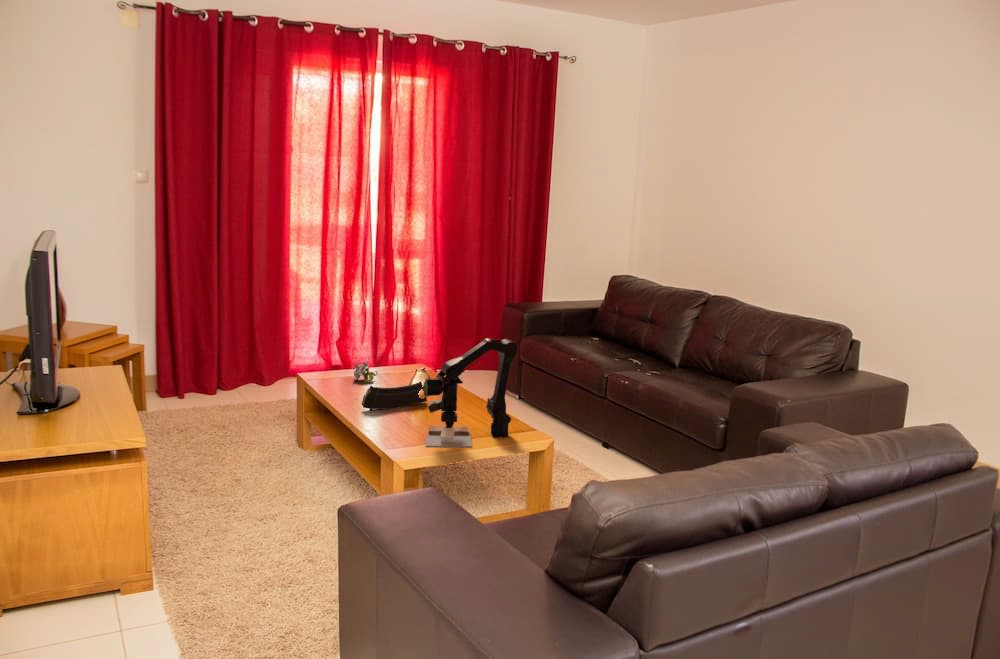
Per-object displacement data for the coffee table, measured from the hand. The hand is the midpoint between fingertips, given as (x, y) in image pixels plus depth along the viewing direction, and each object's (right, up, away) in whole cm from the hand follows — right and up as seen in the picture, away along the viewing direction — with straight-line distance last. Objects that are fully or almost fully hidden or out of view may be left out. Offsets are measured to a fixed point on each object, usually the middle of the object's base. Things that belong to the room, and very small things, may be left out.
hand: (448, 431), depth 325 cm
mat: (0, -4, -1) cm, 4 cm away
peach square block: (0, -2, -2) cm, 3 cm away
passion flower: (-47, +15, +80) cm, 94 cm away
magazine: (-26, +6, +40) cm, 48 cm away
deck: (0, -2, +8) cm, 8 cm away
